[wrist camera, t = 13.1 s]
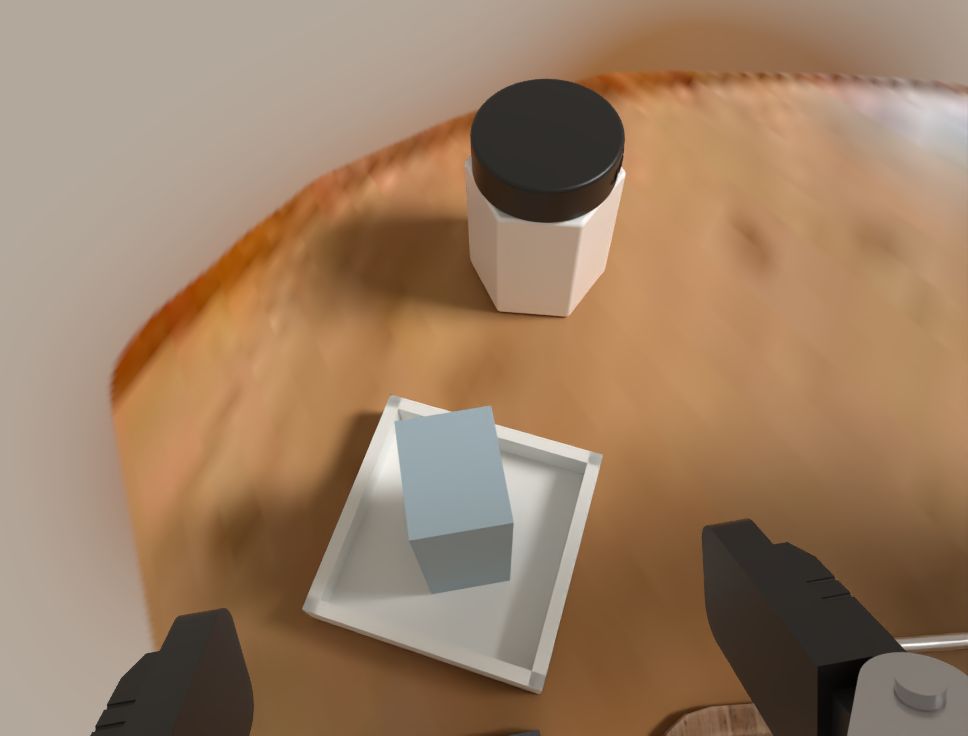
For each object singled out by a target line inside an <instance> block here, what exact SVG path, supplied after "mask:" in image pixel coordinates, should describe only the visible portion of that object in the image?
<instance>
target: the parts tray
mask: <svg viewBox="0 0 968 736" xmlns="http://www.w3.org/2000/svg"><path fill="white" fill-rule="evenodd" d="M449 412H450V411H447V410H443V409H440V408H436V407H433V406H429V405H426V404H422V403H418V402H415V401H411V400H408V399H404V398H401V397H397V396H394V395H390V397H389V400H388V402H387V405H386V407H385V409H384V412H383V414H382V417H381V419H380V422H379V424H378V426H377V429H376V431H375V434H374V436H373V438H372V441H371V443H370V446H369V448H368V451H367V453H366V455H365V458H364V460H363V463H362V465H361V467H360V470H359V472H358V475H357V477H356V480H355V482H354V484H353V487H352V489H351V492H350V494H349V496H348V499H347V501H346V504H345V506H344V509H343V511H342V513H341V516H340V518H339V521H338V523H337V525H336V528H335V530H334V533H333V535H332V538H331V540H330V542H329V545H328V547H327V550H326V552H325V554H324V557H323V559H322V562H321V564H320V567H319V569H318V571H317V574H316V576H315V579H314V581H313V583H312V586H311V588H310V591H309V593H308V596H307V598H306V600H305V603H304V605H303V608H302V610H303V611H304V612H306V613H307V614H309V615H310V616H311V617H313V618H315V619H318V620H321V621H324V622H327V623H330V624H333V625H336V626H339V627H342V628H345V629H347V630H350V631H353V632H356V633H359V634H362V635H365V636H368V637H371V638H374V639H377V640H380V641H383V642H386V643H389V644H392V645H395V646H397V647H400V648H403V649H406V650H409V651H412V652H415V653H418V654H421V655H424V656H427V657H430V658H433V659H436V660H439V661H442V662H444V663H447V664H450V665H453V666H456V667H459V668H462V669H465V670H468V671H471V672H474V673H477V674H480V675H483V676H486V677H489V678H492V679H494V680H497V681H500V682H503V683H506V684H509V685H512V686H515V687H518V688H521V689H524V690H527V691H530V692H533V693H536V694H539V695H540V693H541V692H542V690H543V686H544V682H545V678H546V674H547V670H548V666H549V662H550V659H551V655H552V651H553V647H554V643H555V639H556V635H557V631H558V627H559V624H560V620H561V616H562V612H563V608H564V604H565V600H566V596H567V593H568V589H569V585H570V581H571V577H572V573H573V569H574V565H575V562H576V558H577V554H578V550H579V546H580V542H581V538H582V534H583V531H584V527H585V523H586V519H587V515H588V511H589V507H590V503H591V499H592V496H593V492H594V488H595V484H596V480H597V476H598V472H599V468H600V465H601V461H602V457H603V455H601V454H598V453H594V452H591V451H587V450H584V449H580V448H577V447H573V446H570V445H566V444H563V443H559V442H556V441H552V440H549V439H545V438H542V437H538V436H535V435H531V434H528V433H524V432H521V431H517V430H513V429H510V428H506V427H503V426H499V425H496V424H495V428H496V433H497V438H498V444H499V449H500V454H501V459H502V464H503V470H504V475H505V480H506V485H507V490H508V496H509V501H510V506H511V511H512V517H513V522H514V525H513V541H512V556H511V572H510V581H504V582H499V583H493V584H487V585H482V586H476V587H470V588H465V589H459V590H453V591H448V592H442V593H436V594H431V592H430V590H429V587H428V585H427V583H426V580H425V578H424V575H423V573H422V571H421V568H420V566H419V563H418V561H417V559H416V556H415V554H414V552H413V549H412V547H411V544H410V542H409V537H408V529H407V521H406V513H405V504H404V496H403V488H402V480H401V472H400V464H399V456H398V448H397V440H396V432H395V423H394V421H399V420H405V419H412V418H418V417H424V416H430V415H436V414H443V413H449Z"/></svg>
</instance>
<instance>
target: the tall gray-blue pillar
mask: <svg viewBox="0 0 968 736" xmlns="http://www.w3.org/2000/svg"><path fill="white" fill-rule="evenodd" d="M394 423H395V432H396V440H397V448H398V456H399V464H400V472H401V480H402V488H403V496H404V504H405V513H406V521H407V529H408V537H409V542H410V544H411V547H412V549H413V552H414V554H415V556H416V559H417V561H418V563H419V566H420V568H421V571H422V573H423V575H424V578H425V580H426V583H427V585H428V587H429V590H430V592H431V594H436V593H442V592H448V591H453V590H459V589H465V588H470V587H476V586H482V585H487V584H493V583H499V582H504V581H510V572H511V556H512V541H513V525H514V522H513V517H512V511H511V506H510V501H509V496H508V490H507V485H506V480H505V475H504V470H503V464H502V459H501V454H500V449H499V444H498V438H497V433H496V428H495V423H494V418H493V412H492V407H491V406H486V407H480V408H473V409H467V410H461V411H455V412H449V413H443V414H436V415H430V416H424V417H418V418H412V419H405V420H399V421H394Z"/></svg>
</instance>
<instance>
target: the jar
mask: <svg viewBox="0 0 968 736" xmlns="http://www.w3.org/2000/svg"><path fill="white" fill-rule="evenodd" d="M470 138H471V156H470V157H469V158H468V159H467V160H466V162H465V180H466V197H467V214H468V232H469V249H470V260H471V262H472V264H473V266H474V268H475V270H476V272H477V273H478V275H479V277H480V279H481V281H482V283H483V285H484V286H485V288H486V290H487V292H488V294H489V296H490V298H491V299H492V301H493V303H494V305H495V307H496V309H497V310H498V311H500V312H514V313H527V314H540V315H552V316H564V317H567V316H569V315H570V314H571V313H572V311H573V310H574V309H575V307H576V306H577V305H578V304H579V302H580V301H581V300H582V298H583V297H584V296H585V295H586V293H587V292H588V291H589V289H590V288H591V287H592V286H593V284H594V283H595V282H596V280H597V279H598V278H599V277H600V275H601V274H602V273H603V272H604V270H605V267H606V262H607V258H608V253H609V249H610V244H611V239H612V235H613V230H614V226H615V221H616V217H617V212H618V207H619V203H620V198H621V194H622V189H623V185H624V180H625V175H626V173H625V171H624V169H623V168H622V167H621V166H622V161H623V153H624V142H625V135H624V128H623V124H622V122H621V119H620V117H619V115H618V114H617V112H616V111H615V109H614V108H613V107H612V106H611V104H610V103H609V102H608V101H607V100H606V99H604V98H603V97H602V96H601V95H599V94H598V93H596V92H594V91H593V90H591V89H589V88H587V87H584V86H582V85H579V84H576V83H573V82H569V81H563V80H557V79H535V80H528V81H523V82H520V83H516V84H513V85H511V86H508V87H506V88H504V89H502V90H500V91H498V92H497V93H496V94H494V95H493V96H491V97H490V98H489V99H488V100H487V101H486V102H485V103H484V104H483V105H482V106H481V108H480V109H479V110H478V112H477V114H476V115H475V118H474V120H473V123H472V127H471V135H470Z"/></svg>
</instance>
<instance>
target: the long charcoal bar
mask: <svg viewBox="0 0 968 736" xmlns="http://www.w3.org/2000/svg"><path fill="white" fill-rule="evenodd" d="M508 736H540V733H539V730H535V731H530V732H524V733H519V734H514V735H508Z"/></svg>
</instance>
